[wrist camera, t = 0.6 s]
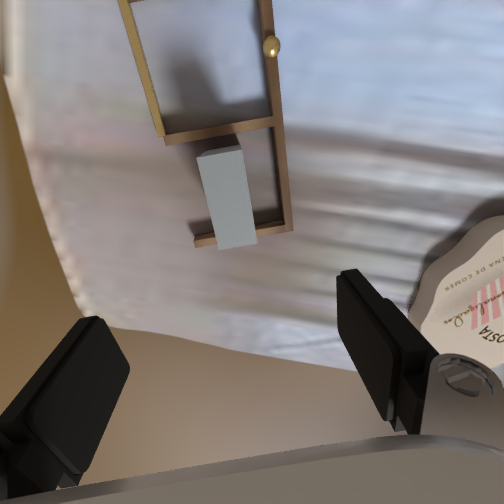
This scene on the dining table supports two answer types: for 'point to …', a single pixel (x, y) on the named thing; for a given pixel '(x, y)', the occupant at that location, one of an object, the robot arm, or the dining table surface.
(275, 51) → the frame
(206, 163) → the pale gray rectangular prism
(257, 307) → the dining table surface
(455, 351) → the decorative plaque
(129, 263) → the dining table surface
